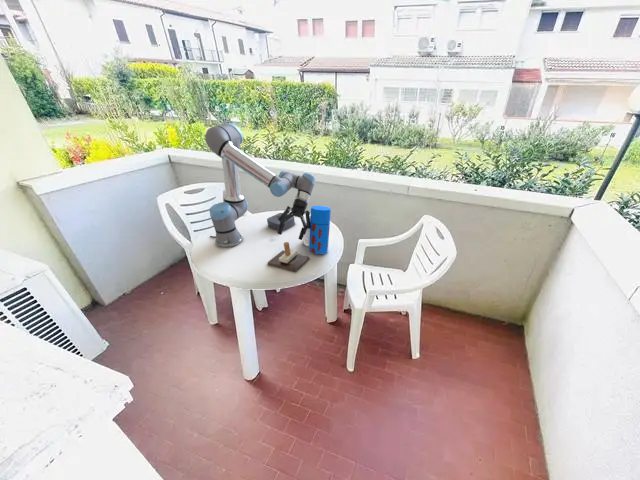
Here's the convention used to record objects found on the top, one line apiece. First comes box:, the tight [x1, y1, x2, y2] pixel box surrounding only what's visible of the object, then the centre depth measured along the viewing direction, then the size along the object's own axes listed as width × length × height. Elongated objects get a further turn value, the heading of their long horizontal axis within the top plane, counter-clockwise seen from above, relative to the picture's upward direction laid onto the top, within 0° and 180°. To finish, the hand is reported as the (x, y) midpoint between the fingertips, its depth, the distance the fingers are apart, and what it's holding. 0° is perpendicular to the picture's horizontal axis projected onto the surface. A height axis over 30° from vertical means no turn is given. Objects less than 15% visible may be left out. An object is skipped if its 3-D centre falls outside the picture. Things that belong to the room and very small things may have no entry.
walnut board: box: [267, 249, 310, 273], centre depth 155 cm, size 18×14×2 cm
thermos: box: [308, 205, 332, 255], centre depth 158 cm, size 11×11×25 cm
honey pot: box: [302, 214, 311, 247], centre depth 169 cm, size 13×13×18 cm
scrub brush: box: [279, 241, 298, 264], centre depth 152 cm, size 10×5×10 cm, turn 157°
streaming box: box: [266, 212, 296, 232], centre depth 192 cm, size 14×14×5 cm
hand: (289, 236), depth 155 cm, fingers open, 13 cm apart
